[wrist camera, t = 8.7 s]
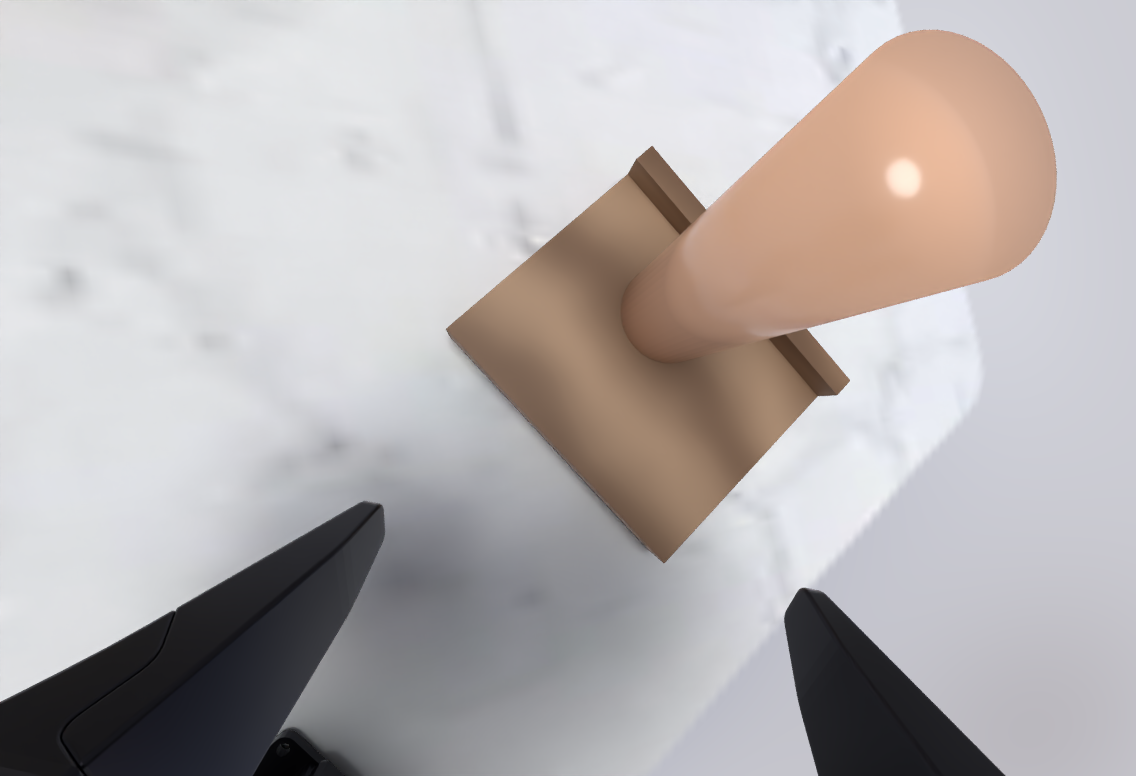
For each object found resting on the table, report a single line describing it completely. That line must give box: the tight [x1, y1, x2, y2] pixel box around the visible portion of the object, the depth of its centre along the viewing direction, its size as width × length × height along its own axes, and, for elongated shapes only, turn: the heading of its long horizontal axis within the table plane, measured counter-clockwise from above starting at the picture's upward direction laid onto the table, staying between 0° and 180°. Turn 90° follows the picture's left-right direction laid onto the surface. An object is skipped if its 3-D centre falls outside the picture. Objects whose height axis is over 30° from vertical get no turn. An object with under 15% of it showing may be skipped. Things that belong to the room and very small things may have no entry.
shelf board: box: [446, 146, 850, 563], centre depth 20 cm, size 12×14×3 cm
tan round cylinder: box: [621, 30, 1057, 363], centre depth 14 cm, size 5×5×12 cm
